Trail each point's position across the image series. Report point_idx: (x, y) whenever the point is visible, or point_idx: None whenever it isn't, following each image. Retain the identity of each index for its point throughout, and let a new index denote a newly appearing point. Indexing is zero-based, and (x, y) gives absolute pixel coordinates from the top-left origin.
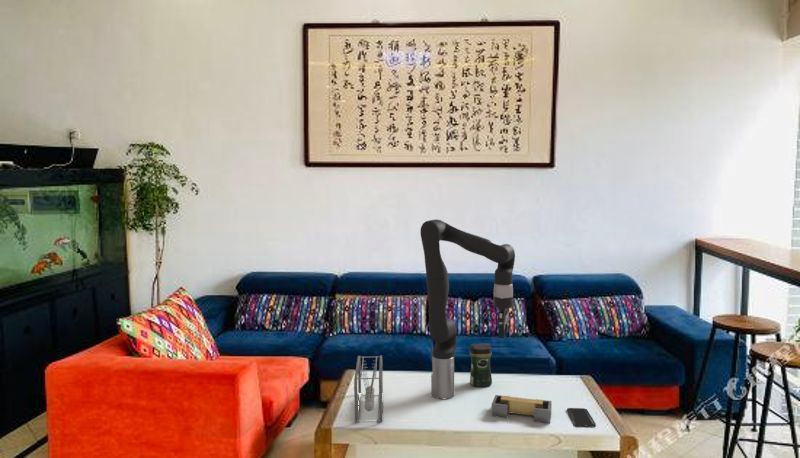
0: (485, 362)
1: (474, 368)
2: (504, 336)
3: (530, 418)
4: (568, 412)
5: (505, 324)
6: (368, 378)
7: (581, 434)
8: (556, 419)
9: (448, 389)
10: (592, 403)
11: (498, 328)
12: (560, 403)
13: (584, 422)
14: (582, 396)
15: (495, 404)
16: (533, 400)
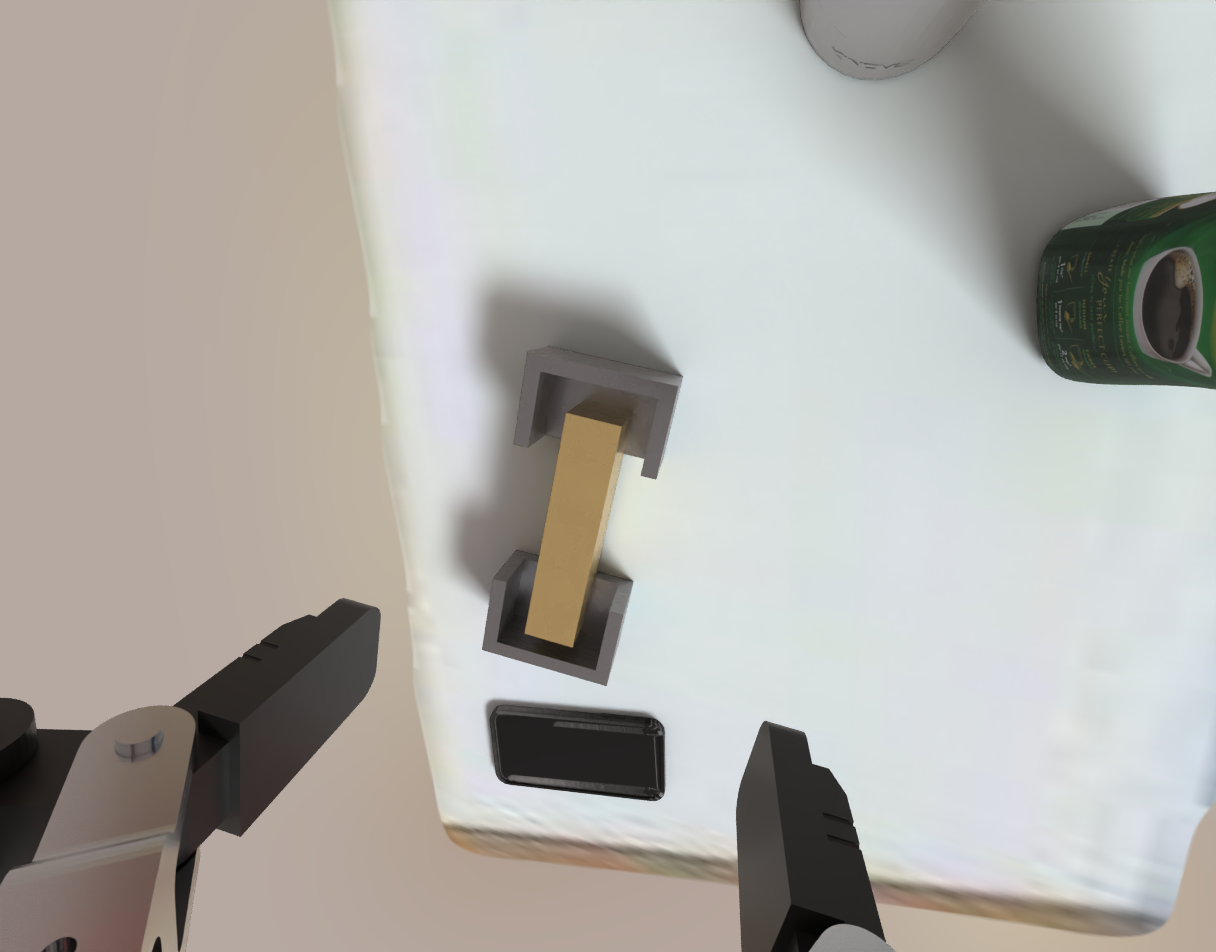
0: (1172, 339)
1: (1155, 224)
2: (347, 703)
3: None
4: (618, 719)
5: (758, 944)
6: None
7: (425, 705)
8: None
9: (819, 1)
10: None
11: (147, 711)
12: (742, 715)
13: (519, 749)
14: None
15: (524, 375)
16: (566, 598)
